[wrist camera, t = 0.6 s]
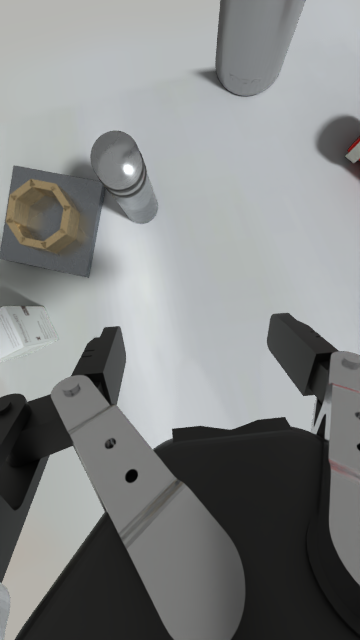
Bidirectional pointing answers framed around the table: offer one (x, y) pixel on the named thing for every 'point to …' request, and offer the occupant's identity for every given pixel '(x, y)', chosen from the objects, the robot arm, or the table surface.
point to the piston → (124, 175)
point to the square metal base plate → (52, 220)
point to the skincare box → (24, 331)
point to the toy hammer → (354, 151)
